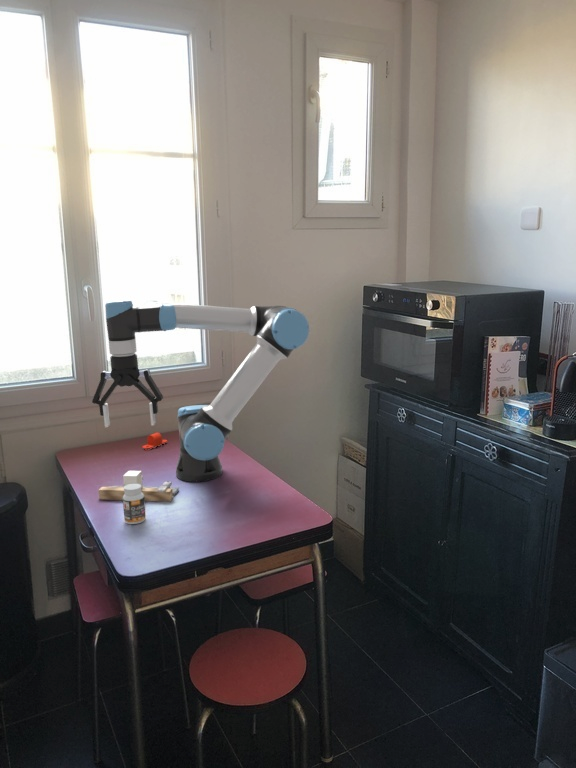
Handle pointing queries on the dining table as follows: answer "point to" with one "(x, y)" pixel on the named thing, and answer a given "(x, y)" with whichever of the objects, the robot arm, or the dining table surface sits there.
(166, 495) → the beam
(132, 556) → the dining table surface
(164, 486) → the fixed leg
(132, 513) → the pill bottle
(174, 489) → the hole plate
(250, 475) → the dining table surface
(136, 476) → the block
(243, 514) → the dining table surface
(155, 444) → the bracket
